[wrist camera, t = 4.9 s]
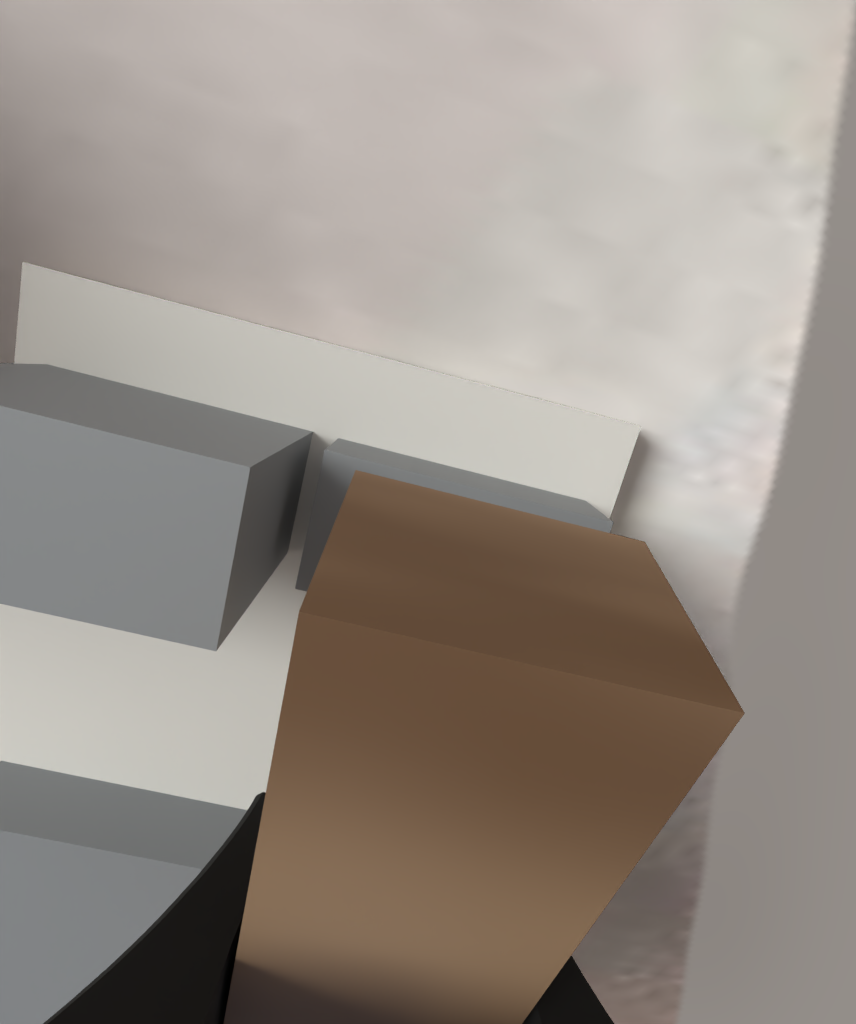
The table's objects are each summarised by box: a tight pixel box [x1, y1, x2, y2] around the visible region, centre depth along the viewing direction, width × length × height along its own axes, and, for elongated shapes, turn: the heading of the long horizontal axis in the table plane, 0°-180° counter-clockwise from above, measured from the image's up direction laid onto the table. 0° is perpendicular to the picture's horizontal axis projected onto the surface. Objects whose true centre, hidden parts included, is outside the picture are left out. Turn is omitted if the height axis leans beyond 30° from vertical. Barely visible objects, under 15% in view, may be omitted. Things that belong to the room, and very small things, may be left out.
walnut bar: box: [223, 470, 744, 1024], centre depth 10 cm, size 16×4×3 cm, turn 165°
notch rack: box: [0, 262, 641, 1024], centre depth 13 cm, size 19×14×6 cm
